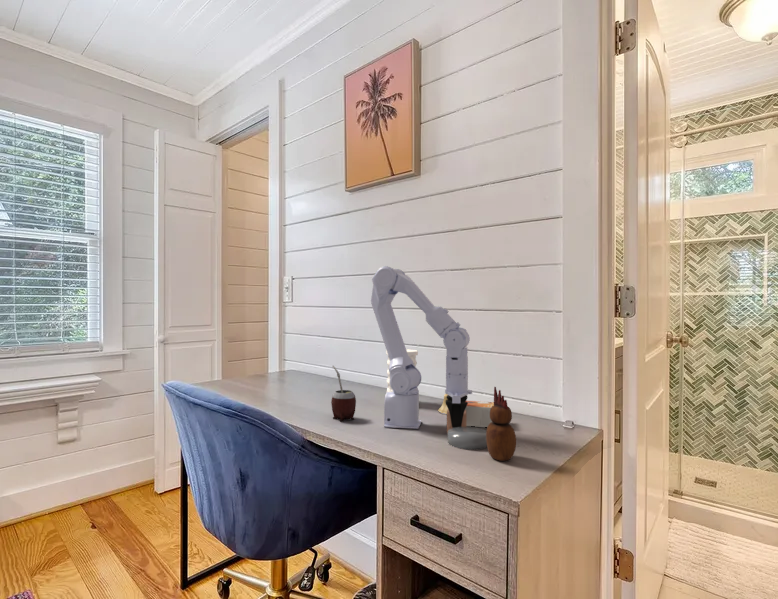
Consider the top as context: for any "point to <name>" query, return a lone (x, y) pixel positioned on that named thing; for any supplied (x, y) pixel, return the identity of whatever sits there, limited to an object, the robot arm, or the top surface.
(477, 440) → the pedestal
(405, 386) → the robot arm
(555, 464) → the top surface
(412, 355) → the decorative container
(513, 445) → the wooden figurine
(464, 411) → the block
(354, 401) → the mate gourd
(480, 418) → the small box
